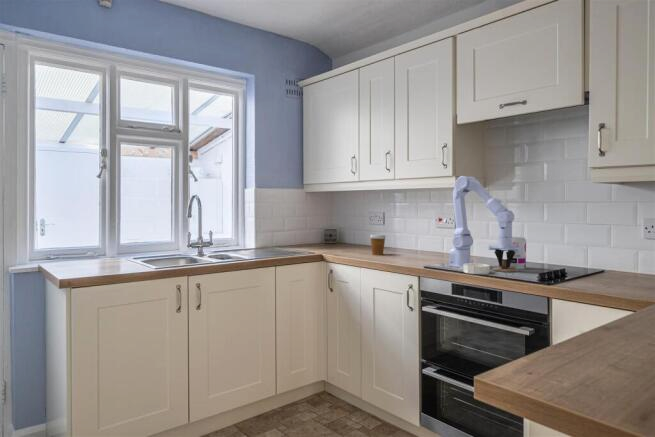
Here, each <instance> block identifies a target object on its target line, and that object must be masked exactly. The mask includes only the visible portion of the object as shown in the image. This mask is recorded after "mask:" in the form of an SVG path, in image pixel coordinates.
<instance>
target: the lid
mask: <svg viewBox="0 0 655 437" xmlns="http://www.w3.org/2000/svg"><path fill="white" fill-rule="evenodd" d="M492 268H493V271H497V272H496V273H503V272H517V271H518V269H516V268H510V267H507V258H505V259H502V260H501V267H499V266H493V267H492ZM493 271H492V272H493ZM517 273H518V272H517Z"/></svg>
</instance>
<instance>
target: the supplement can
mask: <svg viewBox="0 0 655 437" xmlns="http://www.w3.org/2000/svg"><path fill="white" fill-rule="evenodd" d="M512 247H520V248H522V252H515V255H514V256H513V258H512V261H511V264H510V268H516V269H517V270H525V269H526V268H527V267H526V266H527V240H526V237H524V236H512ZM506 250H509V249H506ZM506 252H508V251H506Z"/></svg>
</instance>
